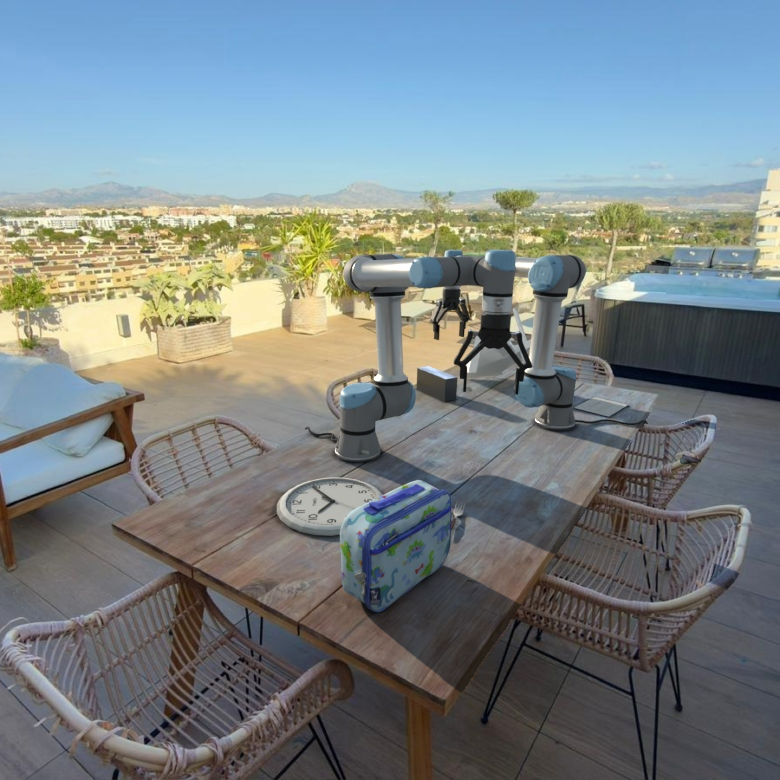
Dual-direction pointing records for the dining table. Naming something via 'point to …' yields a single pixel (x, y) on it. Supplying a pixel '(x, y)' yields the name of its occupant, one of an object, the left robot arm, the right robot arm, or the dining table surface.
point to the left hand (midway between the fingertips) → (490, 391)
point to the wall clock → (323, 504)
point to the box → (437, 383)
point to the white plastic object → (496, 356)
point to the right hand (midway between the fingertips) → (449, 338)
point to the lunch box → (394, 543)
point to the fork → (457, 514)
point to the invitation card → (601, 406)
